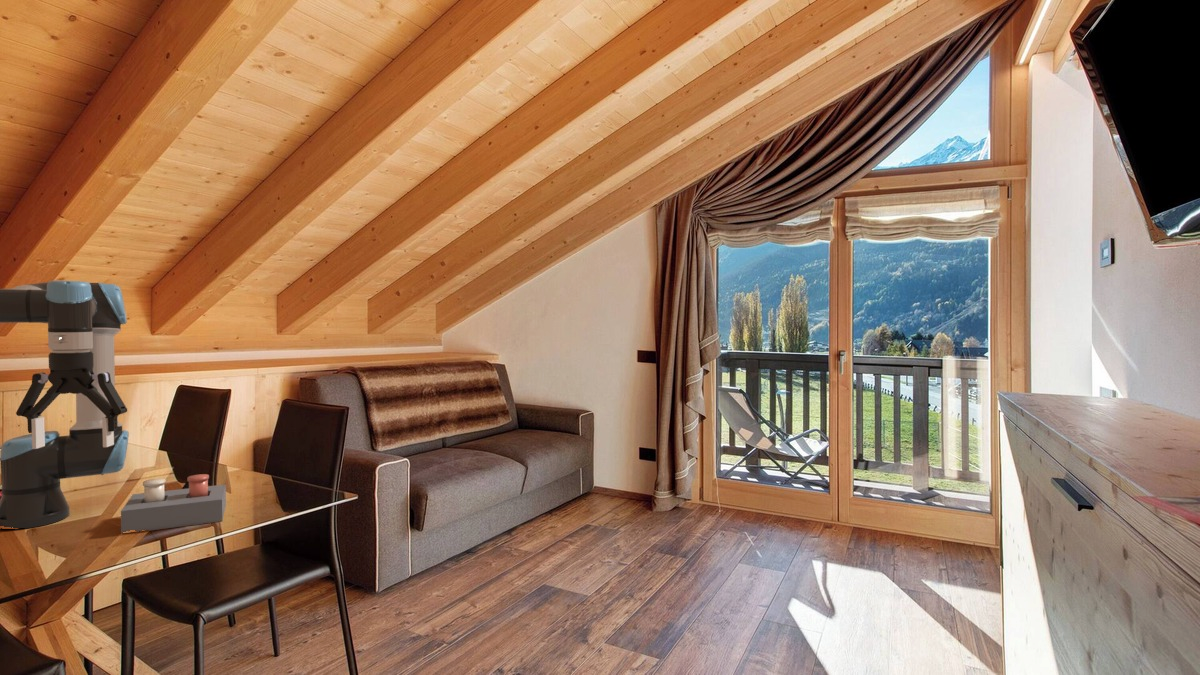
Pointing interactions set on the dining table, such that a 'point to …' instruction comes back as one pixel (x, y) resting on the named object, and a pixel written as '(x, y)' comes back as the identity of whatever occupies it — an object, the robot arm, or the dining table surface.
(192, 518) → the grey plunger base
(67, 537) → the dining table surface
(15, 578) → the dining table surface
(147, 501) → the ivory plunger
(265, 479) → the dining table surface
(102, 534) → the dining table surface
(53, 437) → the robot arm
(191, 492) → the red plunger
